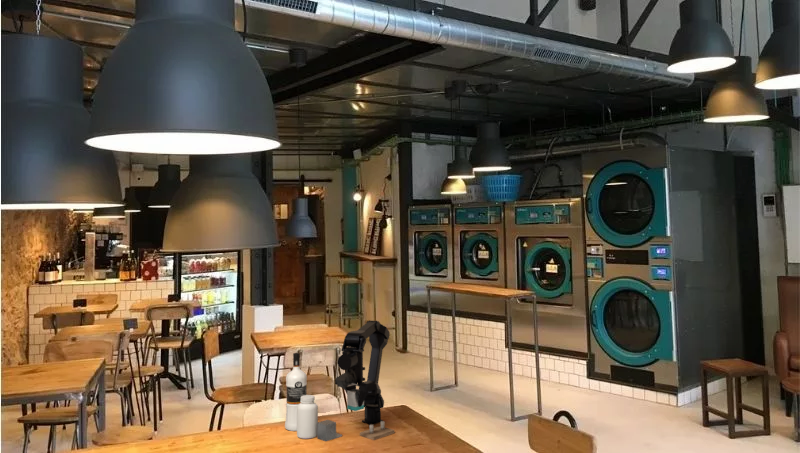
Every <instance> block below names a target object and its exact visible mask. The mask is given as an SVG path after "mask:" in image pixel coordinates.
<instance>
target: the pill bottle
mask: <svg viewBox="0 0 800 453" xmlns="http://www.w3.org/2000/svg"><path fill="white" fill-rule="evenodd" d="M300 402H301V403H300V404H299V405H298V406H297V431H296V436H297V438H299V439H312V438H316V437H317V423H318V420H319V413H318V412H319V411H318V410H319V407H318V404H317V403H316V402H315V395H312V394H307V395H303V396H301V401H300Z"/></svg>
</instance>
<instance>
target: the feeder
mask: <svg viewBox="0 0 800 453" xmlns="http://www.w3.org/2000/svg"><path fill="white" fill-rule="evenodd" d="M316 437H317V440H321V441H323V442H328V441H332V440H334V439H338V438H341V437H343V434H342V433H339V432H337V422H336V421H334V420H330V419H325V420H322V421H319V422H318V423H317V436H316Z"/></svg>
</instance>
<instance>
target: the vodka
mask: <svg viewBox="0 0 800 453" xmlns="http://www.w3.org/2000/svg"><path fill="white" fill-rule="evenodd" d="M300 357H301V356H300V352H294V353H293V354H292V362H293V363H292V364H293V365H292V366H293V367H292V370H290V371H289V372H288V373H287V374H286V376H285V381H286V382H285V386H286V403H285V407H286V408H285V410H286V412H285V422H284V428H285V429H286V430H287V431H289V432H297V406H298V405H299V404H300V403H301V402H300V401H301V396H303V395H308V394H307V384H308V382H307V381H308V380H307V379H308V376H307V373H306V372H305V371H303V370H302V369H301V368H300V367H301V366H300V365H301V364H300V360H301V359H300Z"/></svg>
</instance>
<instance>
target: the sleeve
mask: <svg viewBox="0 0 800 453" xmlns="http://www.w3.org/2000/svg"><path fill="white" fill-rule="evenodd" d="M358 389H359V388H356V389H352V390H348V391H347V393H346V398H347V399H346V401H347V403H346V407H347V408H346V409H347V410H350V411H354V412H357V411H361V410H365V407H364V402H363V404H362V406H361V407H359V405H358V394H357V392H356V391H355V390H358Z"/></svg>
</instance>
